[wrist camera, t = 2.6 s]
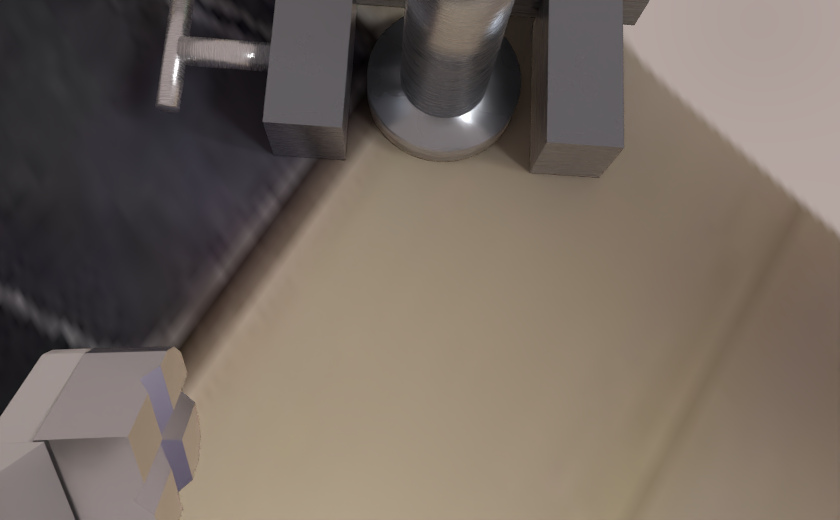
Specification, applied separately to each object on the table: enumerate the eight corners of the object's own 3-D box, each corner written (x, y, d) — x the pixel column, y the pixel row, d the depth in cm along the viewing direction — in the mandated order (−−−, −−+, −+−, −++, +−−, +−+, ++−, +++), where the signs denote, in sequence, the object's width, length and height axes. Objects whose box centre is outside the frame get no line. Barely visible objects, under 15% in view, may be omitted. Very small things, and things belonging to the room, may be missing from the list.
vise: (633, -29, 31) (660, -79, 28) (636, 180, 29) (665, 150, 26) (194, -65, 31) (175, -119, 28) (165, 147, 29) (141, 113, 26)
